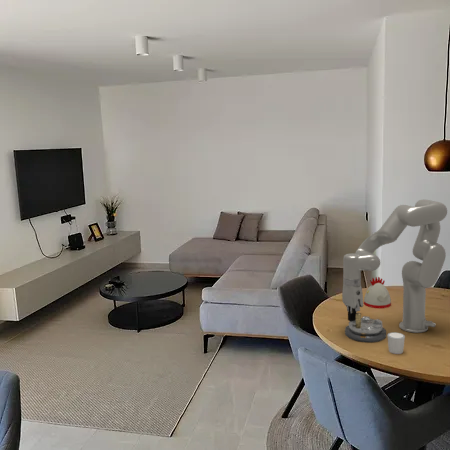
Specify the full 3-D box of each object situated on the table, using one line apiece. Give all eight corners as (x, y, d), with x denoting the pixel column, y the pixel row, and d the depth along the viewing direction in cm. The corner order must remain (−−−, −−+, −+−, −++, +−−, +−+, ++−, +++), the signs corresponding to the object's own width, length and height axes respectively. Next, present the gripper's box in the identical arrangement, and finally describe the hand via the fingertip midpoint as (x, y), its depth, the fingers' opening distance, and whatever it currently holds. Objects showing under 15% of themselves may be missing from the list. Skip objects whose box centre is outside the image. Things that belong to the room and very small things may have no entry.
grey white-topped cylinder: (390, 346, 207) (391, 330, 206) (406, 350, 203) (407, 334, 201) (384, 352, 202) (384, 336, 201) (401, 356, 197) (401, 339, 196)
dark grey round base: (387, 329, 225) (387, 324, 225) (384, 344, 209) (384, 339, 208) (348, 324, 232) (348, 320, 232) (342, 339, 216) (342, 334, 215)
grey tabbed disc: (360, 320, 230) (360, 302, 229) (388, 329, 219) (389, 309, 218) (342, 330, 221) (342, 310, 219) (371, 338, 210) (371, 318, 208)
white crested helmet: (359, 301, 264) (359, 274, 262) (382, 298, 267) (382, 272, 264) (371, 309, 251) (372, 281, 248) (396, 306, 253) (396, 279, 251)
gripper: (369, 284, 210) (369, 324, 213) (349, 276, 224) (349, 313, 227) (354, 287, 207) (354, 327, 211) (335, 278, 221) (335, 316, 224)
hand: (351, 320), depth 219 cm, fingers closed
